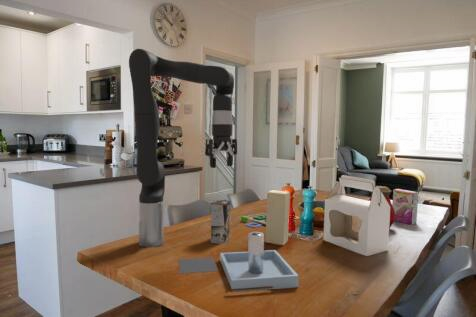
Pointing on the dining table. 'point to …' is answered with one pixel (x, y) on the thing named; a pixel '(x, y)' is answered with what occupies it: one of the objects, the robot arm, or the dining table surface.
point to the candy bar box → (405, 206)
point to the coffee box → (220, 221)
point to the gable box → (370, 212)
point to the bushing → (256, 252)
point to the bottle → (386, 193)
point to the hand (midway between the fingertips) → (221, 166)
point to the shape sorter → (256, 219)
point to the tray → (273, 275)
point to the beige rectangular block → (277, 217)
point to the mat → (197, 265)
